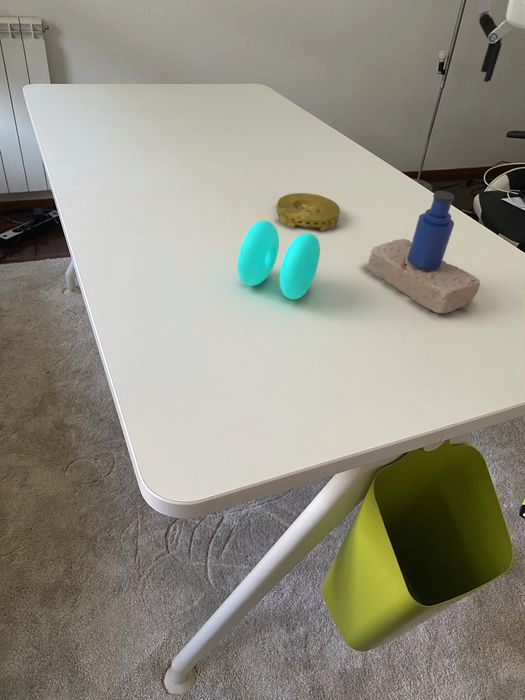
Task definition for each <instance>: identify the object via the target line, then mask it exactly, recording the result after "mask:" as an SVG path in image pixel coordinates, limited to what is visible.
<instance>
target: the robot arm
mask: <svg viewBox="0 0 525 700" xmlns="http://www.w3.org/2000/svg"><path fill="white" fill-rule="evenodd" d="M496 1H497V0H475V4H476V11H477V16H478V23H479V25H480V27H481V30H482V31H483V33H484V35H485V36H486V39H487V41H488V45H487V49H486V52H485V56H484V59H483V63H482V64H481V65H482V66H481V69H480V72H481V73H485V75H484V79H483V82H486V83H489V82H491V80H492V78H493V74H494V70H495V68H496V64H497V61H498V58H499V55H500V52H501V50H502V49H501V48H502V45H503V43H502V40H503V37H505V36H506V35H507V34H508V33H509V32H511V30H513V29H515V28H519V29H524V30H525V0H508V2H507V8H506V13H505V19H504V20H502V21H501V22H500V23H498V25H496V23H495V21H494V19H493V17H492V14H491V8H490V7H491V4H492V3H493V2H496Z"/></svg>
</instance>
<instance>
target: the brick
mask: <svg viewBox="0 0 525 700" xmlns="http://www.w3.org/2000/svg"><path fill="white" fill-rule="evenodd" d="M411 244H412V241H410V239H407V238H399V239H393V240H392V241H389V242H386V243H382V244H380V245H377V246H374V247H372V249H371V251H370V256H369V257H368V264H367V266H366V268H367V270H369V271H370V272H371V273H373V274H374V275H375V276H377V277H378V278H380V279H383V280H384V281H385V282H386V283H387V284H389V285H390V286H392V287H394V288H395V289H396V290H398V291H400V292H401V293H403V294H405V295H407V296H408V297H409V298H410V299H411V300H412V301H414V302H416V303H417V304H419V305H421V306H423V307H424V308H426V309H428V310H431V311H432V312H433V313H437V314H447V313H451V312H454V311H455V310H458V309H462V308H463V307H465V306H466V305H469V304H471V303H472V302H473V300H474V299H475V296H476V295H477V293H478V292H479V289H480V285H481V284H480V283H481V281H480V279H479V278H477V277H476V276H474V275H473V274H471V273H469V272H468V271H465V270H463V269H462V268H459V267H458V266H456V265H454V264H453V265H452V264H451V263H447V262H446V261H445V260H442V263H441V266H440V267H439V268H437V269H433V270H427V269H422V268H418V267H416V266H414V265H412V264H411V263H410V262H409V261H408V255H409V251H410V247H411Z"/></svg>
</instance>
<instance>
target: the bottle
mask: <svg viewBox="0 0 525 700" xmlns="http://www.w3.org/2000/svg"><path fill="white" fill-rule="evenodd" d="M432 197H433V200H432V203H431V206H430V208H429V209H426V210H425V212H423V213H421V214H420V215H419V216H418V220H417V223H416V226H415V230H414V233H413V237H412V241H411V242H412V244H411V247H410V251H409V255H408V261H409V262H410V263H411V264H412V265H414V266H416V267H418V268H422V269H427V270H433V269H437V268H439V267H440V266H441V263H442V260H443V259H444V258H445V257H444V256H445V253H446V250H447V248H448V245H449V241H450V238H451V235H452V232H453V229H454V226H455V221H453V219H452V215H451V214H450V213H449V212H450V209H451V205H452V203H453V202H454V199H455V195H454V194H453V193H452V192H450V191H446V190H436V191H434V193H433V196H432ZM443 261H444V260H443Z"/></svg>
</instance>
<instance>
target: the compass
mask: <svg viewBox="0 0 525 700" xmlns="http://www.w3.org/2000/svg"><path fill="white" fill-rule="evenodd" d="M276 213H277V215H278V216H279V222H281V223H282V224H283V225H285V226H287V227H289V228H295V227H296V226H300V227H304V228H305V227H306V228H317V229H319V230H320V232H322V231H327V230H331V229H332V228H334V227H335V226H336V222H338V221H339V217H340V213H341V208H340V206H339V204H338V203H336V202H335V201H334V200H332V199H330V198H328V197H326V196H323V195H319V194H316V193H315V194H314V193H308V192H295V193H288V194H285V195H283V196H282V197H279V199H278V200H277V203H276Z"/></svg>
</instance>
